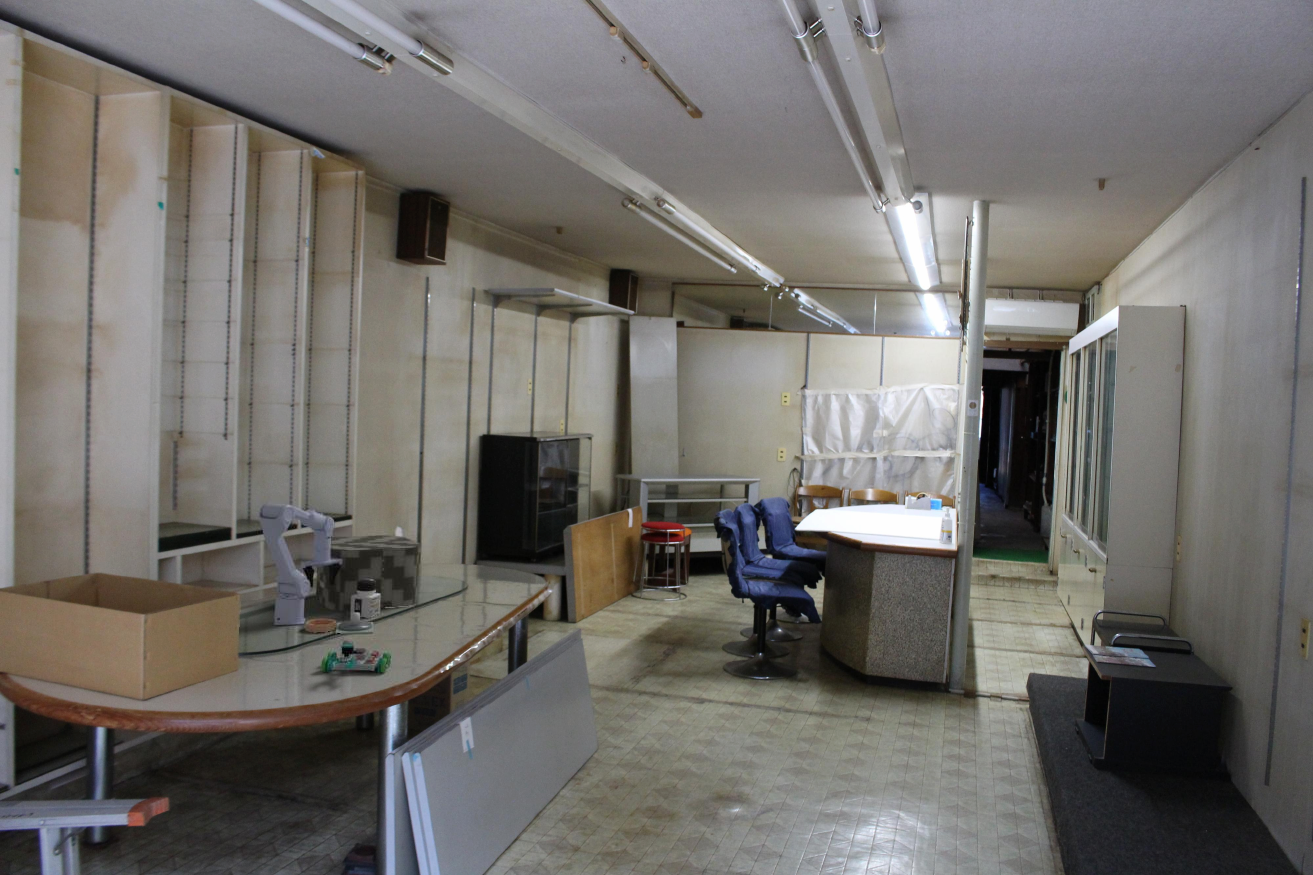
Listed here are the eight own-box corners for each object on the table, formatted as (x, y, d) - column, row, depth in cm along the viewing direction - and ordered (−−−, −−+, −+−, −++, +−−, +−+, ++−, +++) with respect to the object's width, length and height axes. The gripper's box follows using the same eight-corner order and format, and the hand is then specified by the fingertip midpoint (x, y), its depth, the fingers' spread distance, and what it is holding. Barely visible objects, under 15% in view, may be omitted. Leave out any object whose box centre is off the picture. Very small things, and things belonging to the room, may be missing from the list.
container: (369, 618, 324) (370, 582, 324) (350, 616, 326) (351, 581, 325) (380, 614, 332) (381, 579, 331) (361, 612, 333) (362, 577, 333)
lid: (336, 631, 302) (337, 617, 302) (338, 623, 312) (339, 610, 312) (371, 630, 305) (371, 616, 305) (372, 622, 315) (372, 609, 315)
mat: (335, 634, 300) (335, 632, 300) (337, 624, 314) (337, 622, 314) (372, 633, 304) (372, 631, 304) (373, 623, 317) (373, 622, 317)
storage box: (425, 606, 349) (427, 547, 348) (332, 613, 329) (335, 551, 329) (396, 589, 378) (398, 534, 377) (309, 595, 358) (311, 537, 358)
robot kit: (307, 686, 245) (309, 652, 245) (330, 661, 270) (331, 630, 270) (377, 687, 247) (379, 653, 247) (394, 662, 272) (395, 631, 272)
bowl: (304, 633, 300) (304, 625, 300) (307, 626, 309) (307, 619, 309) (334, 632, 302) (335, 625, 302) (336, 625, 311) (336, 618, 311)
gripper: (306, 551, 319) (305, 589, 319) (346, 548, 329) (345, 585, 329) (298, 548, 324) (297, 586, 324) (338, 545, 334) (337, 581, 334)
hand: (321, 585), depth 327 cm, fingers open, 7 cm apart
